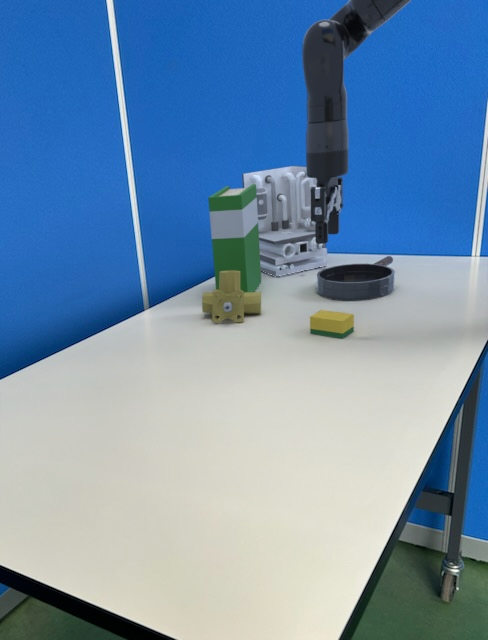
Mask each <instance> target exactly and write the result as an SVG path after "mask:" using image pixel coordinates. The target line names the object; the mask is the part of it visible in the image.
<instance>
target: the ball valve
mask: <svg viewBox="0 0 488 640" xmlns="http://www.w3.org/2000/svg"><path fill="white" fill-rule="evenodd" d="M201 298H202V300H201V307H202V309H201V310H202V313H203V314H212V317H211V318H212V322H214V323H215V324H219V323H221V322H222V321H223V320H226V319H229V320H230V321H233V322H235V323H244V320H245V314H258V315H259V314H262V291H255V292H245V293H244V292H243V291H242V290H240V271H235V270H233V271H220V272H219V290H218V289H216V288H215V289H214V290H213V291H208V292H202V297H201ZM238 316H240V318H238Z"/></svg>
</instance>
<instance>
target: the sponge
mask: <svg viewBox="0 0 488 640" xmlns="http://www.w3.org/2000/svg"><path fill="white" fill-rule="evenodd" d="M354 331H355V314H354V313H350V312H342V311H341V312H340V311H332V310H324V309H320V310H319V311H317V312H315V313H313V314H312V315H310V316H309V334H311V335H318V336H324V337H329V338H336V339H344V338H346V337H347V336H349V335H351V334H352V333H354Z"/></svg>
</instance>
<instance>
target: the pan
mask: <svg viewBox="0 0 488 640" xmlns="http://www.w3.org/2000/svg"><path fill="white" fill-rule="evenodd" d="M395 279H396V271H395V270H394V269H393V267H390V266H388V265H387V266H383V265H378V264H374V263H348V264H346V263H345V264H339V265H334V266H333V265H332V266H329V267H325V268H324V269H321V270H320V271H318V272H317V274H316V292H317V291H318V292H317V294H318V293H319V294H320V295H319V294H318V295H319V296H321V297H323V298H326V297H327V298H326V299H329V298H331V299H330V300H333V301H334V300H335V299H337V300H335V301H346V302H350V301H353V302H355V301H368V300H375V299H379V298H383V297H386V296H388V295H390V294H392V293H393V292H394V291H395V285H396V284H395V283H396V280H395ZM392 291H393V292H392ZM385 295H386V296H385ZM367 299H368V300H367Z"/></svg>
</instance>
